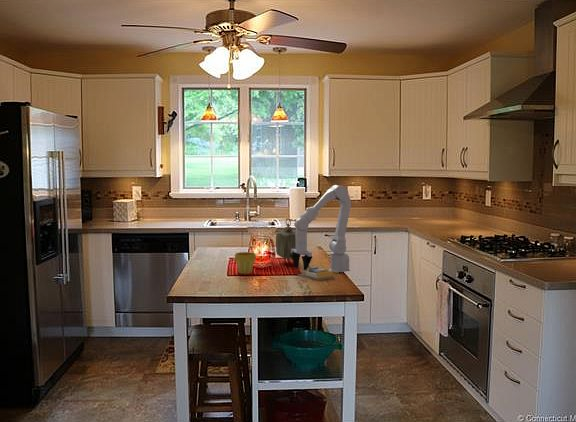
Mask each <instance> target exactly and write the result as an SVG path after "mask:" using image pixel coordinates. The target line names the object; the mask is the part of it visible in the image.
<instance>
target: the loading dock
mask: <svg viewBox="0 0 576 422" xmlns="http://www.w3.org/2000/svg"><path fill="white" fill-rule="evenodd" d="M297 276H300V277H303V278H307V279H311V280H315V281H322V280H330V279H334V278H335V277H334V272H333V271H326V272H320V273H317V274H316V273H314V272H308V271H307V270H306V272H305V273H299V274H297Z"/></svg>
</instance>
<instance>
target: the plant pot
mask: <svg viewBox="0 0 576 422" xmlns="http://www.w3.org/2000/svg"><path fill="white" fill-rule="evenodd" d="M256 256H257V254H256V252H251V251H247V252H246V251H244V252H243V251H242V252H241V251H240V252H236V253H235V254H234V260H235V261H236V266H237V270H238V271H237V272H238V274H243V275H248V274H252V272H253V269H254V268H253V267H254V264H255V261H256V259H257V258H256Z"/></svg>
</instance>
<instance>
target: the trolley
mask: <svg viewBox="0 0 576 422" xmlns="http://www.w3.org/2000/svg"><path fill="white" fill-rule="evenodd" d="M328 269H329V268H319V266H318V265H316V266H310V267H308V268H307V270H306V272H307V271H308V272H314V273H316V274H317V273H320V272H326V271H328Z"/></svg>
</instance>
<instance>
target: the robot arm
mask: <svg viewBox="0 0 576 422" xmlns="http://www.w3.org/2000/svg"><path fill="white" fill-rule="evenodd" d="M335 199H336V200H337V202H338V203H339V204H340V206H339V211H338V215H337V222H336V227H335V232H334V235H333V236H332V239H331V241H330V243H329V246H328V247H329V249H330V268H327V269H328V271H333V273H336V274H339V272H340V273H344V272H346V273H347V272H351V269H350V257H349V254H348V253H346V251H347V245H346V242H347V240H346V232H347V227H348V222H349V217H350V212H351V211H350V210H351V208H352V207H351V206H352V200H351V197H350V195H349V190H348V189H347V188H346V186H344V185H338V184H334V185H332V186H330V188H329V189H326V192H325V193H324V194H323V195H322V196H321V197H320V199H319V200H318V201H317V202H316V203H315V204H314V205H313V206H310V207H306V210H305V211H304V212H303V213H302V214H301V215H299V218H297V219H296V220H295V221H294V223H293V224H294V225H293V226H294V227H295V231H296V249H291V253H292V254H290V256H291V258H290V259H292V262H293V267H294V268H295V269H297V268H299V266H300V259H301V260H302V265H303V271H307V268H308V267H309V266H310V264H311V260H312V259H313V252H312V251H310V250H308V232H307V229H308V228H309V224H311V223H312V221H314V220H315V219H316V217H318V216H319V211H320V210H321V209H323V207H324V206H325V205H326V204H327V203H328V202H329V201H333V200H335Z"/></svg>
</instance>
